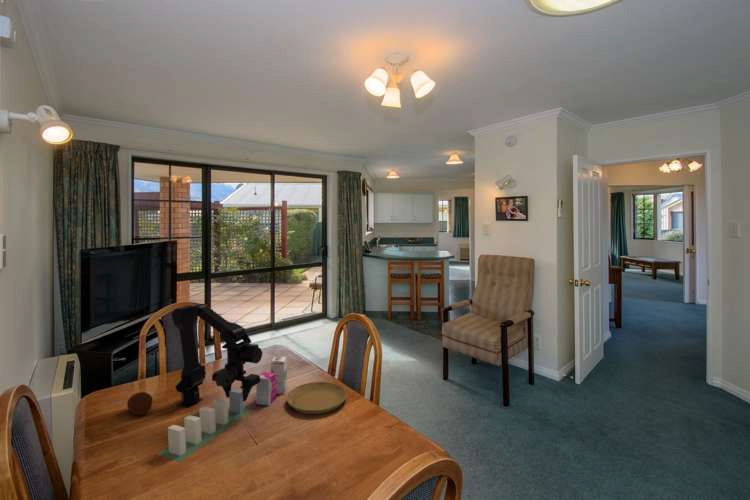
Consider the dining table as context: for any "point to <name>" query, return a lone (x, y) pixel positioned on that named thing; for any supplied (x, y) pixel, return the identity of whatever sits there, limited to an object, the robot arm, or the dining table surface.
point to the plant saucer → (316, 397)
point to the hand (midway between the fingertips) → (236, 399)
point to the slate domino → (236, 401)
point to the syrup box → (280, 373)
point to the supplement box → (266, 389)
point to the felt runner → (206, 436)
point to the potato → (140, 403)
